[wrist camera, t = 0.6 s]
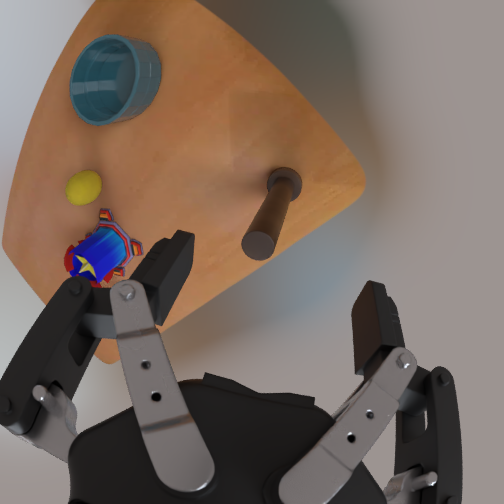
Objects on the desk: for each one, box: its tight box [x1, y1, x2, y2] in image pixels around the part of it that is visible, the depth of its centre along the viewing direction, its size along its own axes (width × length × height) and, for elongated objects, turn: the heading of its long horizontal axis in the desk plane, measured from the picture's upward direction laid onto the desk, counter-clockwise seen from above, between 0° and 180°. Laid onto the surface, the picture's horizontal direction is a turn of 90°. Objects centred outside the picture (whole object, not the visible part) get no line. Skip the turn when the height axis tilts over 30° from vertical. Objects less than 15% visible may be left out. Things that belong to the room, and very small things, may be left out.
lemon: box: [65, 170, 102, 206], centre depth 40 cm, size 6×6×8 cm
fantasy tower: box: [64, 208, 143, 288], centre depth 44 cm, size 12×12×12 cm
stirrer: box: [241, 167, 302, 260], centre depth 29 cm, size 4×4×18 cm
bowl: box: [70, 35, 161, 126], centre depth 31 cm, size 13×13×6 cm
